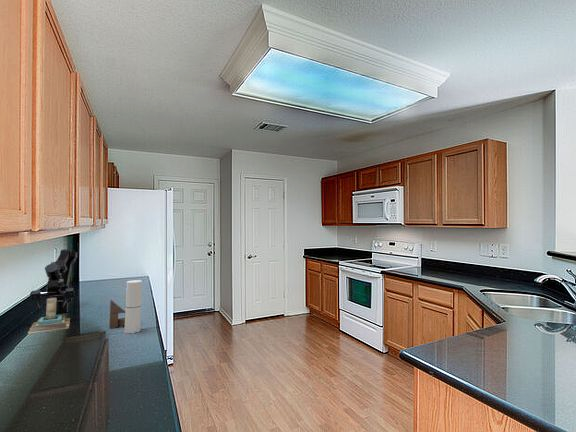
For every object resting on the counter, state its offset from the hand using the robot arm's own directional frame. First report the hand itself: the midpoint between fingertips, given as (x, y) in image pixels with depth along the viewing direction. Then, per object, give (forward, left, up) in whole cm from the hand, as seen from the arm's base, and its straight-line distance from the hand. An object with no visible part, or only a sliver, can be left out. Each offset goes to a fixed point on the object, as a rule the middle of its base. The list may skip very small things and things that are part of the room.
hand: (51, 308), depth 160 cm
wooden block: (+16, +31, -10) cm, 36 cm away
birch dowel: (+1, 0, -8) cm, 8 cm away
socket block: (+1, 0, -9) cm, 9 cm away
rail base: (0, 0, -10) cm, 10 cm away
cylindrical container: (+28, +35, -10) cm, 46 cm away
